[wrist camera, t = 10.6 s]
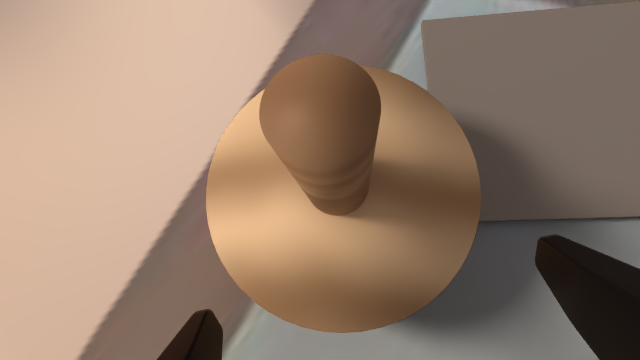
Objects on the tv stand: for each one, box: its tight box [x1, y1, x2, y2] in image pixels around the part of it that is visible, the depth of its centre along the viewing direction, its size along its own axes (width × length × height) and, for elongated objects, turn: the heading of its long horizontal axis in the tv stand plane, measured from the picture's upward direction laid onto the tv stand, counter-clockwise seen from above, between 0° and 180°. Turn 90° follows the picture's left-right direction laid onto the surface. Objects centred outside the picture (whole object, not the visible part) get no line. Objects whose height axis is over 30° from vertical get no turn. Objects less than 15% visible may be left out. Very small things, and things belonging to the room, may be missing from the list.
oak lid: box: [206, 54, 481, 333], centre depth 13 cm, size 14×14×10 cm
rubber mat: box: [421, 1, 640, 222], centre depth 22 cm, size 15×15×1 cm
